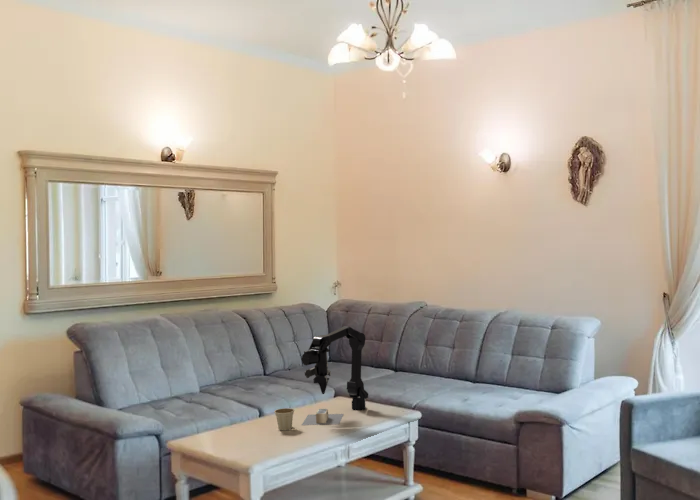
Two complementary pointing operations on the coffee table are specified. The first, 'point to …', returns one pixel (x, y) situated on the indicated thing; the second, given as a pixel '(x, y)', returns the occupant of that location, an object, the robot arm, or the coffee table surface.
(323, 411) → the birch block
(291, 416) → the flower pot
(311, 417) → the mat
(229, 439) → the coffee table surface
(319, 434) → the coffee table surface
